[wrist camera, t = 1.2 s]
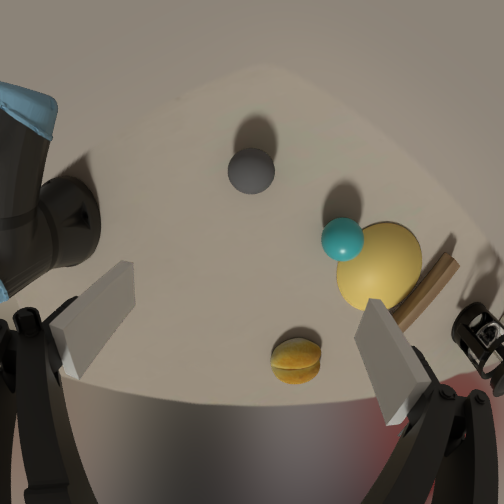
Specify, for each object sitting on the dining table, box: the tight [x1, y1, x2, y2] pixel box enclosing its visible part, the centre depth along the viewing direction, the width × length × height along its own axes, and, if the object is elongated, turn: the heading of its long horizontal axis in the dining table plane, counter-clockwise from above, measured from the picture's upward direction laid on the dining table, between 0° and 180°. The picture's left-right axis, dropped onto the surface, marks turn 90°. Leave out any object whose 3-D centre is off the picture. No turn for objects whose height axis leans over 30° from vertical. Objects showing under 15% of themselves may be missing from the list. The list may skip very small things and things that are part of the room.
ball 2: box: [321, 217, 364, 262], centre depth 33 cm, size 6×6×6 cm
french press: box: [451, 302, 504, 397], centre depth 28 cm, size 12×9×23 cm
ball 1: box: [228, 148, 275, 194], centre depth 31 cm, size 6×6×6 cm
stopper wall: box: [392, 253, 460, 333], centre depth 37 cm, size 2×18×3 cm, turn 145°
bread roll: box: [271, 338, 321, 384], centre depth 42 cm, size 8×9×4 cm
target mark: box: [337, 223, 422, 311], centre depth 37 cm, size 14×14×1 cm
